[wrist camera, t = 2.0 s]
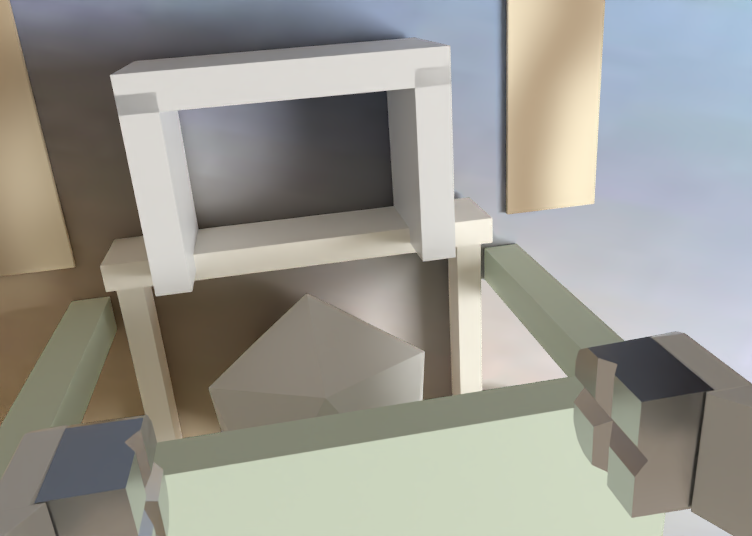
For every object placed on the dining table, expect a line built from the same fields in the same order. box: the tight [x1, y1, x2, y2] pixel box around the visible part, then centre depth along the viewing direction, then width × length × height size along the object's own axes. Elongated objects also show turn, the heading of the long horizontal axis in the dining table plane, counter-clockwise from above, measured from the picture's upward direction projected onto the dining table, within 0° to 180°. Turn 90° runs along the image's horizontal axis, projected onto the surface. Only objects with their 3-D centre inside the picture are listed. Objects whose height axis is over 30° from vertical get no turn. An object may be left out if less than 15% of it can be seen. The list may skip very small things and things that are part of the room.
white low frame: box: [100, 38, 492, 442], centre depth 27 cm, size 14×21×5 cm
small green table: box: [0, 244, 665, 536], centre depth 25 cm, size 19×9×12 cm, turn 94°
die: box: [208, 293, 425, 432], centre depth 28 cm, size 8×9×10 cm
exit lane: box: [0, 0, 605, 277], centre depth 26 cm, size 26×14×1 cm, turn 94°
